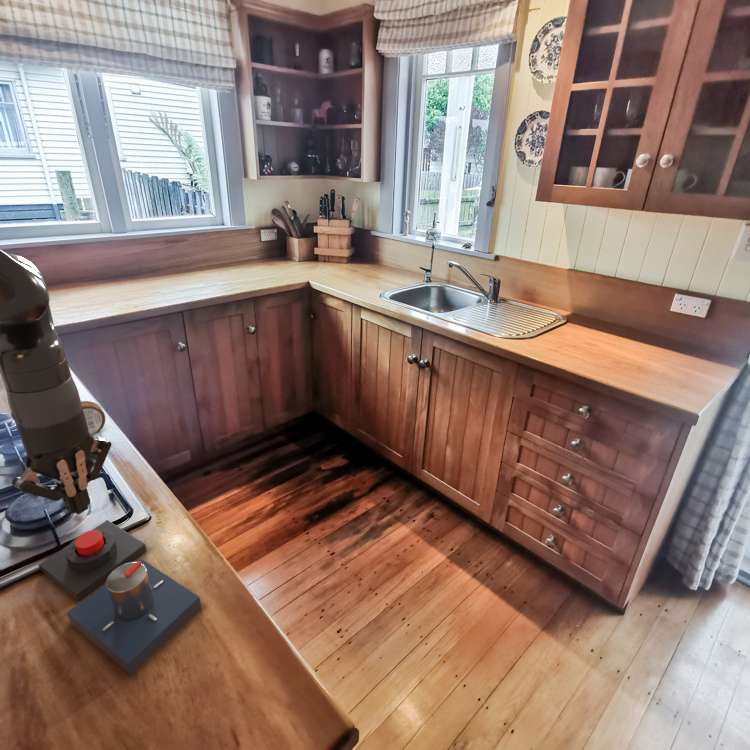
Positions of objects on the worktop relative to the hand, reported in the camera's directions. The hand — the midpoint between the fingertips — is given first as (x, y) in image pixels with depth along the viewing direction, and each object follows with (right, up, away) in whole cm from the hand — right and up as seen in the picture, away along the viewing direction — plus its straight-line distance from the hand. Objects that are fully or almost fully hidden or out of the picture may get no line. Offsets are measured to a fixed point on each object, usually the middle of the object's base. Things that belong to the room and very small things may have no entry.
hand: (80, 509), depth 69 cm
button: (0, -7, +2) cm, 7 cm away
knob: (+11, -11, -5) cm, 17 cm away
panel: (+11, -14, -4) cm, 18 cm away
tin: (-23, +5, +33) cm, 40 cm away
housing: (0, -10, +4) cm, 11 cm away
